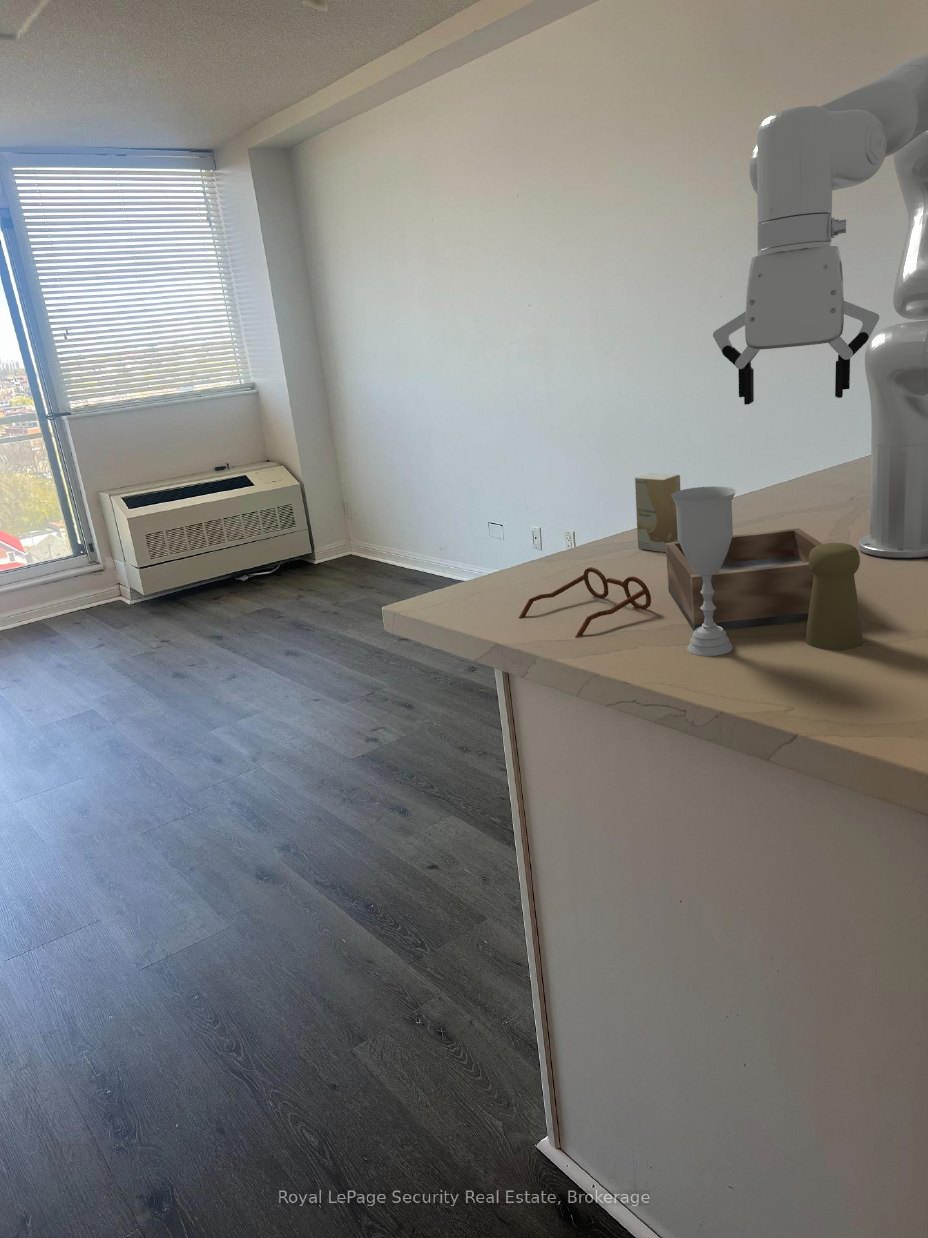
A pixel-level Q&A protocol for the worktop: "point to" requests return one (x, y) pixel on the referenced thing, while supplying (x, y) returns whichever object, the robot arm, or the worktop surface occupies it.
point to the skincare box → (656, 510)
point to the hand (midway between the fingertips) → (793, 400)
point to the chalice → (706, 553)
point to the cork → (834, 598)
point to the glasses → (598, 595)
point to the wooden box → (749, 581)
